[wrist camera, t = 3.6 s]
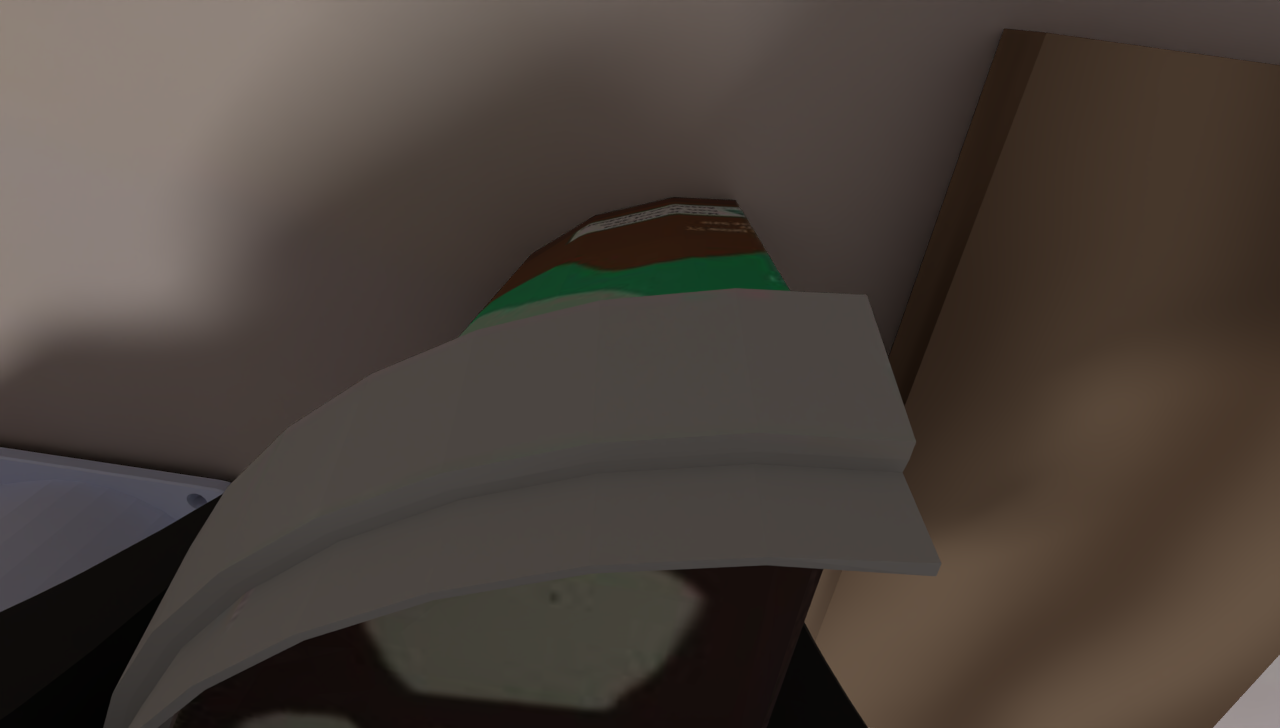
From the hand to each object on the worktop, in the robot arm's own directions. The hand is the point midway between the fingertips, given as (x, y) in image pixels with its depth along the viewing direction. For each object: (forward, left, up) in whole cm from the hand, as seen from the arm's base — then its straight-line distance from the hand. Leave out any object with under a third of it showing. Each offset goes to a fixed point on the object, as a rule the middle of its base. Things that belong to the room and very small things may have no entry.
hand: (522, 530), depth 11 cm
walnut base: (+12, 0, -4) cm, 12 cm away
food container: (0, 0, -4) cm, 5 cm away
